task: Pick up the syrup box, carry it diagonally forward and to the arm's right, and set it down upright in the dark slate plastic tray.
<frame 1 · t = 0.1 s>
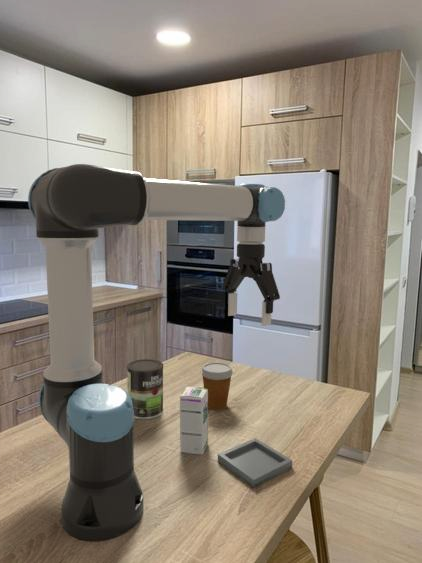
hand: (248, 320, 116), 28 cm above the table, fingers open, 13 cm apart
coffee can: (145, 412, 121), on the table
syrup box: (193, 448, 103), on the table
tray: (254, 464, 96), on the table
disposable coffee cup: (216, 406, 126), on the table
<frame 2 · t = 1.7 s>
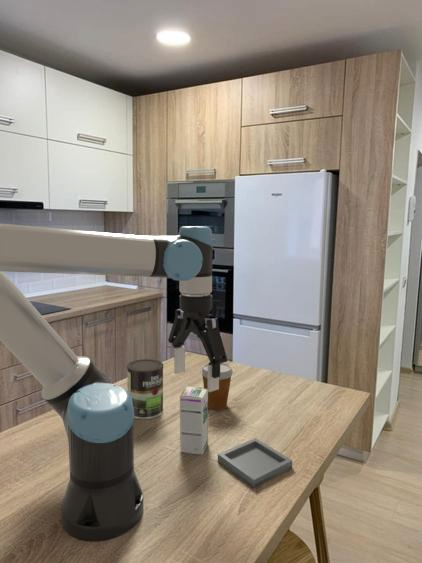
hand: (195, 381, 100), 17 cm above the table, fingers open, 13 cm apart
nothing on the table moved.
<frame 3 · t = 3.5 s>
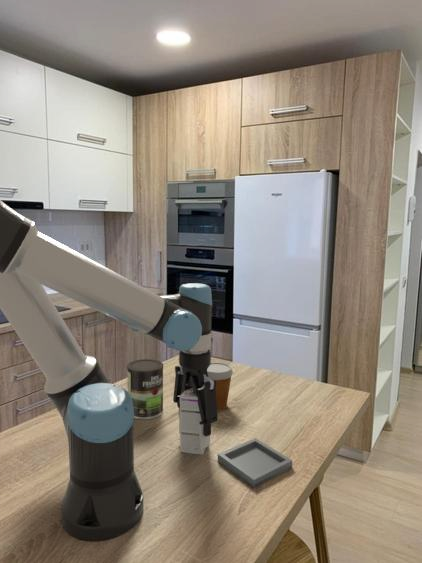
hand: (194, 439, 102), 2 cm above the table, fingers closed on syrup box, 8 cm apart
syrup box: (194, 448, 103), on the table, touching gripper
everything else where it was.
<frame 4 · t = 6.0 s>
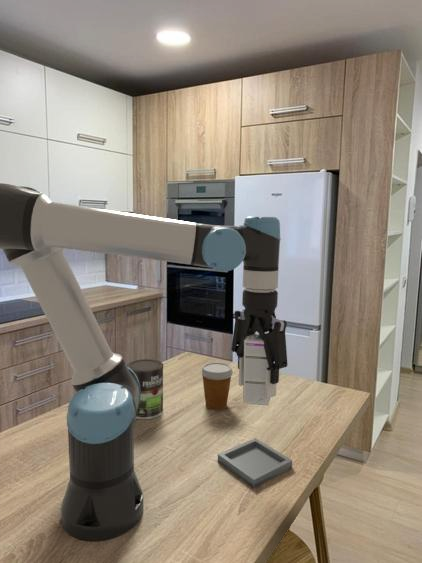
hand: (256, 390, 93), 18 cm above the table, fingers closed on syrup box, 8 cm apart
syrup box: (256, 400, 94), point 16 cm above the table, touching gripper
everything else where it was.
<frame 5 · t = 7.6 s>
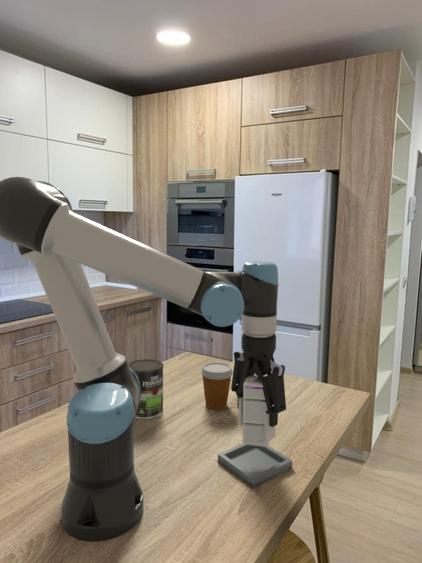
hand: (256, 430, 95), 8 cm above the table, fingers closed on syrup box, 8 cm apart
syrup box: (256, 440, 95), point 6 cm above the table, touching gripper
everything else where it was.
when the fingers open (5 cm above the table, at t = 8.8 s): syrup box drops 2 cm, resting on tray.
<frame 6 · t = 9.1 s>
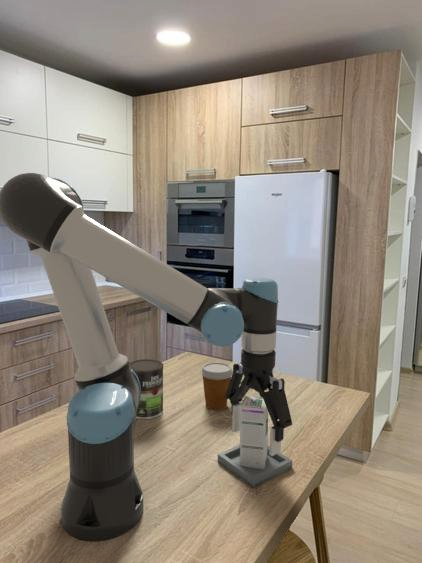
hand: (255, 441, 95), 6 cm above the table, fingers open, 11 cm apart
syrup box: (253, 462, 96), resting on tray
everything else where it was.
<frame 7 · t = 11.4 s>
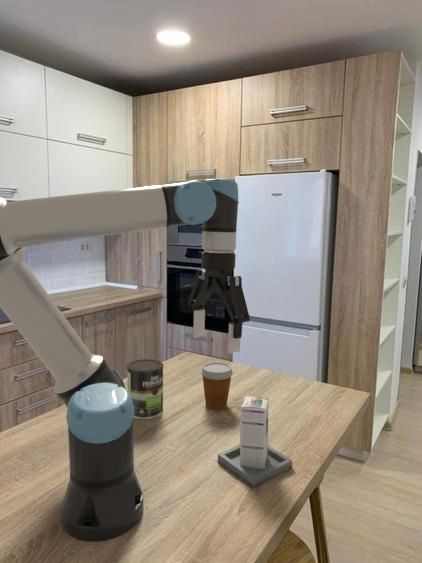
hand: (215, 344, 96), 27 cm above the table, fingers open, 13 cm apart
nothing on the table moved.
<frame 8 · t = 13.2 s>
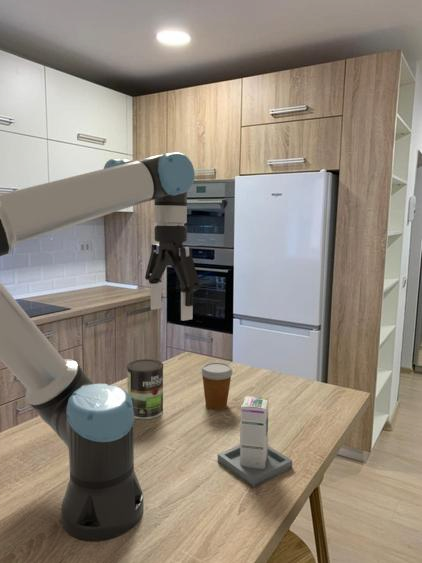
hand: (170, 314, 101), 33 cm above the table, fingers open, 13 cm apart
nothing on the table moved.
at the end: syrup box inside the target area on the tray (0.3 cm from its centre), point 0.4 cm above the tray's base; syrup box tilted 0°; the gripper is holding nothing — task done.
